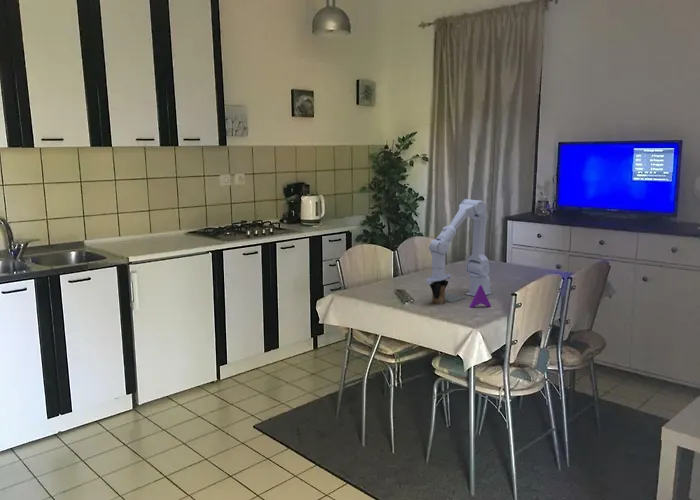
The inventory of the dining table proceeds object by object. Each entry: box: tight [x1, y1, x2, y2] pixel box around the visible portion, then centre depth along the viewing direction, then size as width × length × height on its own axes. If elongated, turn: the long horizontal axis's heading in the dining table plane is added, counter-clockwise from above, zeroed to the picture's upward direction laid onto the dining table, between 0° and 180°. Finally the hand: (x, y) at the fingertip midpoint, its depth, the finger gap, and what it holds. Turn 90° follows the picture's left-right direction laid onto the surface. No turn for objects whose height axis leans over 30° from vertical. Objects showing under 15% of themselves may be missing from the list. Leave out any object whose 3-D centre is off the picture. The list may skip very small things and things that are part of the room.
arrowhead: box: [469, 285, 492, 309], centre depth 249 cm, size 10×2×10 cm
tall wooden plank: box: [431, 285, 446, 305], centre depth 256 cm, size 2×5×8 cm, turn 42°
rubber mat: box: [445, 293, 466, 303], centre depth 264 cm, size 10×10×1 cm
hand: (438, 297), depth 257 cm, fingers closed on tall wooden plank, 2 cm apart
